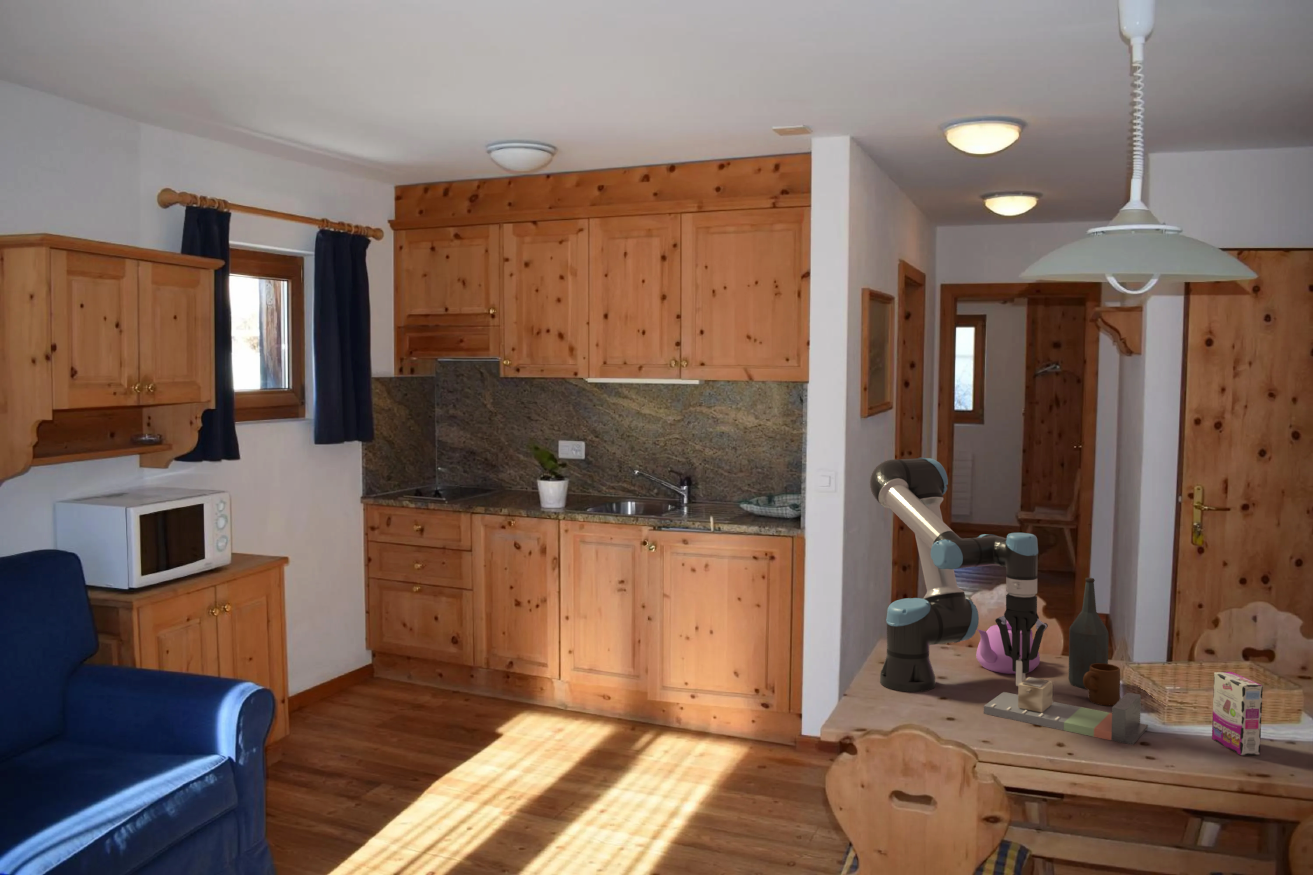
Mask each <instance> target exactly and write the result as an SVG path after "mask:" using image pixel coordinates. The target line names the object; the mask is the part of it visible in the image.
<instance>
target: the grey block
mask: <svg viewBox="0 0 1313 875" xmlns="http://www.w3.org/2000/svg"><path fill="white" fill-rule="evenodd" d="M1141 698H1142V695H1141V694H1139V693H1133V692H1126V694H1124V695H1123V696H1122V697H1120V700H1119V701H1118V702H1117V703H1116V704H1115V705H1114V706H1111V713H1112V736H1111V740H1110V741H1113V742H1118V743H1122V744H1128V745H1131V746H1132V745H1133V746H1134V744H1135V743H1136V742H1137V741H1138V740H1139V739H1140V737H1141V736H1142V735H1143V734H1144V733H1145V732H1146V731H1147V730H1148V729H1149V725H1148V724H1146V723H1141V700H1142V699H1141Z"/></svg>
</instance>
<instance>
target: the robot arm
mask: <svg viewBox="0 0 1313 875" xmlns="http://www.w3.org/2000/svg"><path fill="white" fill-rule="evenodd" d="M948 478H949V477H948V475H947V471H946V469H945V467H944V466H943V465H942V464H941V462H939V461H937V460H936V459H934V458H929V457H927V458H926V457H918V458H902V459H901V458H900V459H899V458H898V459H887V460H884V461H883V462H880V463H879V464H878V465H877V466H875V467H874V469H873V471H872V473H871V475H870V479H869V480H870V481H869V488H870V491H871V493H872V496H873V497H874V499H875V500H876V501H877V503H879V504H880V505H881V506H882V507H883V508H885V509H890V510H891V511H892V512H893V513H894V514H895V515H896V516H897V517H898V518H899V520H901V521H902V522H903V523H904V524H905V525H906V526H907V527H908V528H909V529H910V530H911V531H912V532H913V533H914V536H915V541H916V545H917V551H918V555H919V559H920V565H921V569H922V573H923V579H924V583H925V588H926V593H925V595H924V596H923V598H921V597H920V598H919V597H913V598H911V597H908V598H901V599H898V600H894V601H893V602H891V603H890V604H889V605H888V607H887V611H886V612H887V613H886V619H885V621H886V622H885V623H886V656H885V659H884V662H883V665H882V668H881V670H880V673H879V674H880V675H879V682H880V684H881V685H882V686H883V687H884V688H887V689H891V690H894V691H901V692H910V693H911V692H913V693H916V692H917V693H918V692H925V691H926V692H927V691H930V690H933V689H934V688H935V687H936V675H935V672H934V668H933V666H932V662H931V659H930V646H933V645H943V644H950V643H952V644H953V643H954V644H956V643H960V642H964V641H968V640H970V639H971V638H973V636H974V635H975V634H976V632H977V631H978V630H977V629H978V627H979V620H980V619H979V618H980V617H979V611H978V608H977V606H976V604H975V603H974V601H973V600H971V599H969V598H966V593H965V590H963V589H962V588H960V587H959V586H958V584H957V577H956V574H955V570H957V569H958V570H959V569H966V568H973V567H986V566H988V567H989V566H999V567H1002V568H1005V569H1006V570H1005V572H1006V573H1005V577H1006V581H1005V590H1006V591H1005V592H1006V593H1007V594H1005V611H1004V613H1003V615H1002V616H999V617H997V618H995V620H994V621H995V624H996V625H998V627H999V630H1000V634H1001V638H1002V643H1003V647H1004V652H1005V655H1006V656H1009V657H1011V658H1012V670H1013V671H1014V672H1016V674H1015V686H1016V687H1018V685H1019V684H1020V683H1021V682H1023V681H1024V680H1026V674H1029V673H1030V672H1029V660H1033V659H1035V658H1036V657H1037V654H1038V652H1039V649H1040V646H1041V643H1042V639H1043V636H1044V632H1045V630H1046V629H1047V628H1048V626H1049V624H1048V623H1047V622H1043V621H1041V620H1040V617H1039V615H1038V596H1037V594H1038V565H1039V563H1038V562H1039V560H1038V559H1039V558H1038V557H1039V556H1038V555H1039V546H1038V538H1037V536H1036V534H1033V533H1028V532H1027V533H1026V532H1011V533H1008V534H1007V535H1006V537H1003V536H998V535H996V534H985V533H984V534H980V535H979V536H977V537H969V538H967V537H966V538H962V537H960V536H959V535H958V534H957V533H955V531H953V529H951V527H949V526H948V524H946V523H945V522H944V520H943V515H942V511H941V508H940V506H941V504H942V502H943V501H944V495H945V494H946V492H947V491H948V485H949V479H948ZM1006 620H1007V621H1008V623H1009V624H1010V626H1011V627H1012V629H1011V632H1012V646H1011V641H1010V637H1009V632H1008V628H1007V625H1006V623H1007V621H1006ZM1035 625H1036V626H1035ZM1034 626H1035V629H1036V631H1035V634H1034V638H1033V644H1032V648H1031V652H1030V633H1031V630H1032V629H1033V627H1034ZM1020 631H1021V634H1022V658H1019V657H1020V656H1021V655H1020ZM1028 672H1029V673H1028Z"/></svg>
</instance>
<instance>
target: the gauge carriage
mask: <svg viewBox="0 0 1313 875" xmlns="http://www.w3.org/2000/svg"><path fill="white" fill-rule="evenodd" d="M1053 683H1054V681H1053V680H1048V679H1044V678H1037V677H1033V676H1028V677H1027V678H1025V680H1024V681H1023V682H1021V683H1020V684H1019V685H1018V686H1017V687H1018V689H1017V691H1018V693H1017V695H1018V708H1022V709H1027V710H1032V711H1037V712H1043V711H1045V710H1046V709H1047V708H1048V707H1049V706H1051V705H1052V701H1053V692H1054V691H1053V690H1054V689H1053V687H1054V686H1053V685H1054V684H1053Z"/></svg>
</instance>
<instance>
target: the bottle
mask: <svg viewBox="0 0 1313 875" xmlns="http://www.w3.org/2000/svg"><path fill="white" fill-rule="evenodd" d="M1084 584H1085V586H1084V594H1083V600H1082V601H1083V602H1082V609H1081V611H1080V612H1079V614H1078V615H1077V617H1076V618H1075V619H1074V621H1073V622H1072V623H1071V625H1070V626H1069V631H1068V632H1069V637H1068V639H1069V640H1068V682H1069V683H1070V685H1072V686H1074V687H1077V688H1081V689H1086V688H1085V687H1084V684H1083V677H1084V675H1085V673H1087V672H1089V669H1090V665H1091V664H1095V663H1105V664H1109V631H1108V629H1107V627H1106V625H1105V623H1104V622H1103V620H1102V619H1101V617H1100V616H1099V614H1098V612H1097V601H1096V593H1095V592H1096V591H1095V578H1093V577H1085V583H1084ZM1086 690H1087V689H1086Z"/></svg>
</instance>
